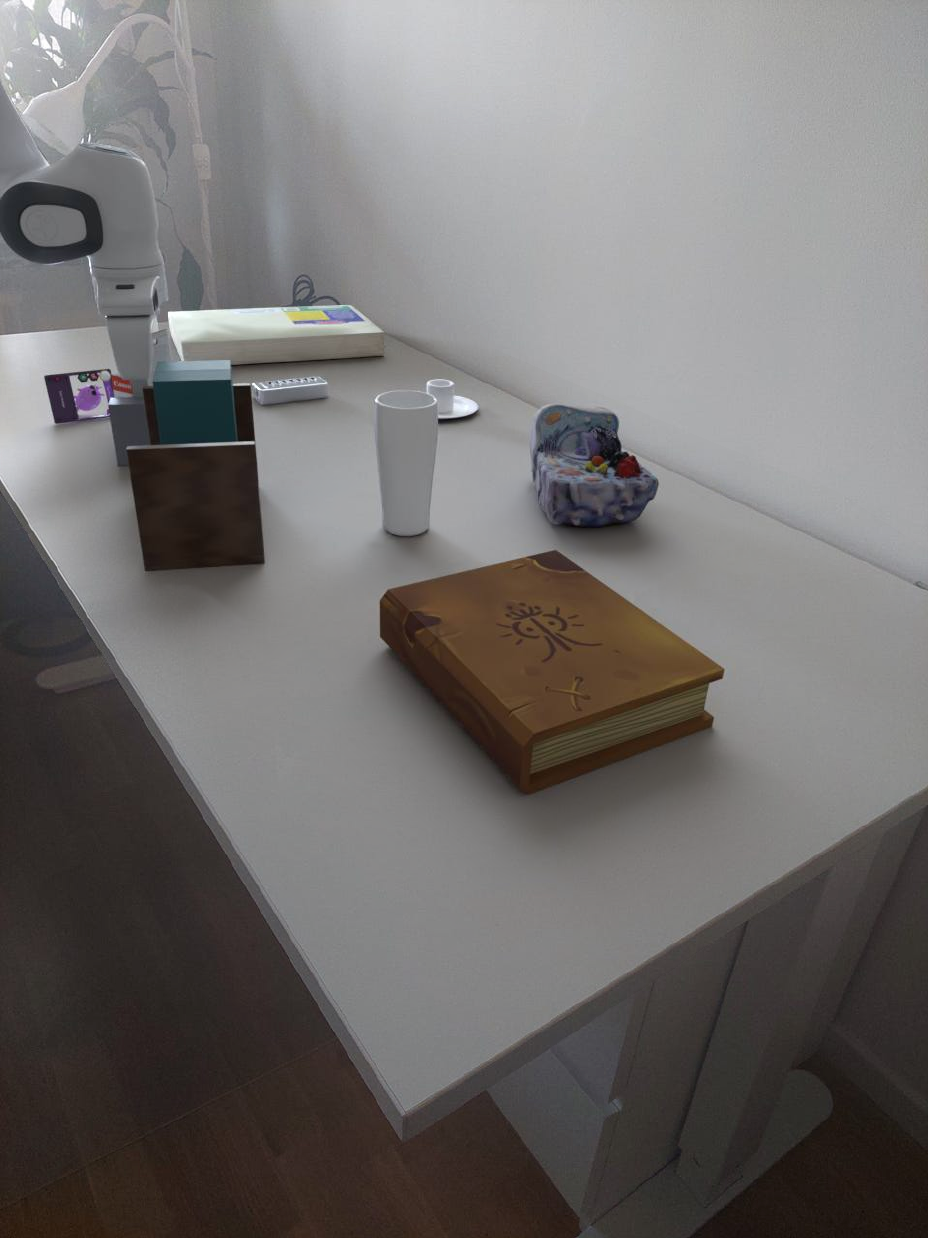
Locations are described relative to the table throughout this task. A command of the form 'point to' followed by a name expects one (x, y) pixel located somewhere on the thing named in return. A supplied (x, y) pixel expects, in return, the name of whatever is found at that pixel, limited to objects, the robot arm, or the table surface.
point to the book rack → (198, 495)
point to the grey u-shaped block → (128, 425)
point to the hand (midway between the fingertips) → (146, 394)
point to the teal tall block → (195, 402)
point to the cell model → (586, 468)
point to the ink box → (161, 354)
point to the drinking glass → (406, 458)
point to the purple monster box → (85, 400)
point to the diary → (548, 666)
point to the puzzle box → (275, 334)
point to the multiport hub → (290, 390)
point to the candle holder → (450, 400)
